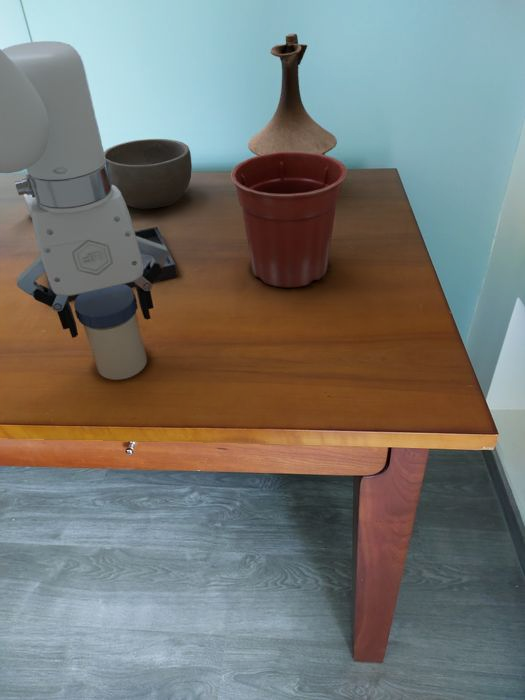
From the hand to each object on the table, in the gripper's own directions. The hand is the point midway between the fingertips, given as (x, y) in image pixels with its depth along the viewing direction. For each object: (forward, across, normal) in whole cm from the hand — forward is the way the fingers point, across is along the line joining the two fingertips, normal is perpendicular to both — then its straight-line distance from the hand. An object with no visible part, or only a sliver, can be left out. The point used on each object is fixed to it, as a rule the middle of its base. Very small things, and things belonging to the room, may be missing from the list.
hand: (110, 321), depth 64 cm
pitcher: (+7, +42, +40) cm, 58 cm away
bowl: (+7, +15, +49) cm, 52 cm away
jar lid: (-3, 0, 0) cm, 3 cm away
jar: (+7, 0, 0) cm, 7 cm away
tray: (+7, +2, +25) cm, 26 cm away
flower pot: (+7, +29, +13) cm, 33 cm away
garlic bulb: (+7, -6, +51) cm, 52 cm away
